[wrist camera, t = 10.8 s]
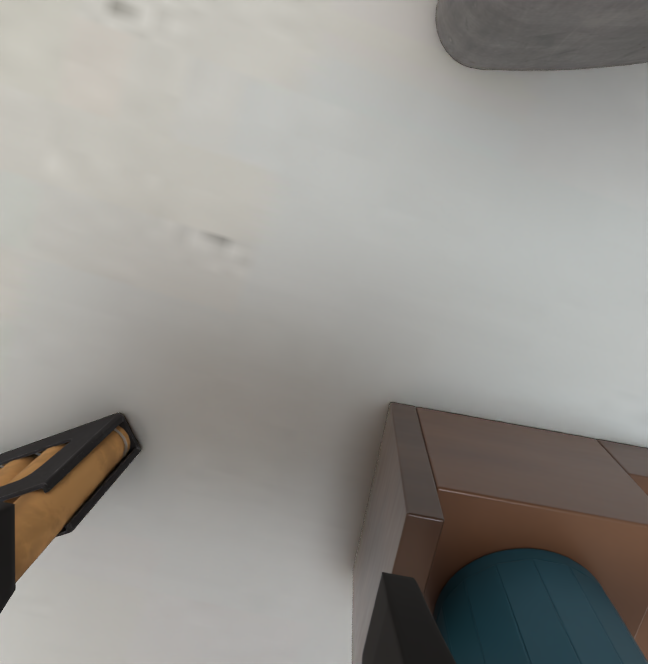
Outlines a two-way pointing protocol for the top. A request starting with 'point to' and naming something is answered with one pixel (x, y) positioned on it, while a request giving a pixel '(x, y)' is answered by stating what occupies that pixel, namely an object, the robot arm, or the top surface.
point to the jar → (531, 613)
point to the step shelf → (500, 508)
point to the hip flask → (544, 33)
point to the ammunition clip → (62, 481)
